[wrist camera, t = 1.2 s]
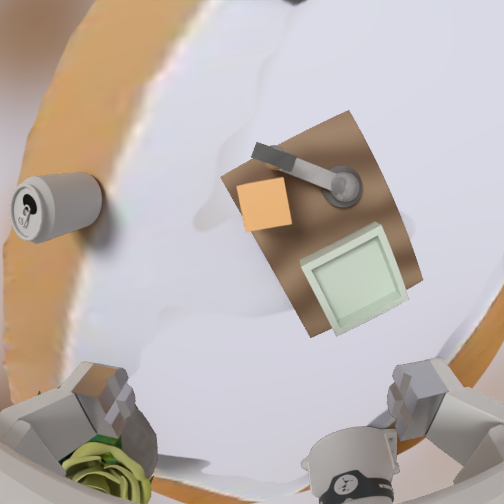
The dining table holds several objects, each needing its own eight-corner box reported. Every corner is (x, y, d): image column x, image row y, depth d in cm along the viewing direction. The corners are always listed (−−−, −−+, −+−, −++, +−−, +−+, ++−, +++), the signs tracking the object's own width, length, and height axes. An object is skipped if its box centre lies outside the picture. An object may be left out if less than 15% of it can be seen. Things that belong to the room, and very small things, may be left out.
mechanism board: (418, 276, 33) (426, 282, 31) (309, 332, 37) (311, 342, 34) (346, 112, 29) (350, 108, 27) (222, 176, 33) (218, 177, 30)
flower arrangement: (116, 446, 50) (73, 524, 26) (46, 359, 45) (-27, 431, 21) (208, 441, 45) (176, 554, 21) (129, 333, 40) (33, 449, 16)
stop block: (282, 176, 31) (283, 177, 24) (289, 213, 32) (292, 224, 25) (246, 183, 31) (236, 186, 24) (253, 219, 32) (245, 232, 25)
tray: (401, 290, 33) (409, 299, 30) (333, 326, 35) (336, 336, 32) (374, 221, 31) (381, 224, 28) (299, 259, 33) (300, 266, 30)
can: (114, 191, 34) (53, 203, 23) (91, 236, 36) (32, 261, 25) (79, 161, 34) (17, 164, 22) (59, 205, 36) (-1, 220, 24)
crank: (360, 179, 29) (376, 180, 23) (350, 205, 30) (364, 212, 24) (263, 140, 29) (259, 133, 23) (253, 167, 30) (247, 165, 24)
